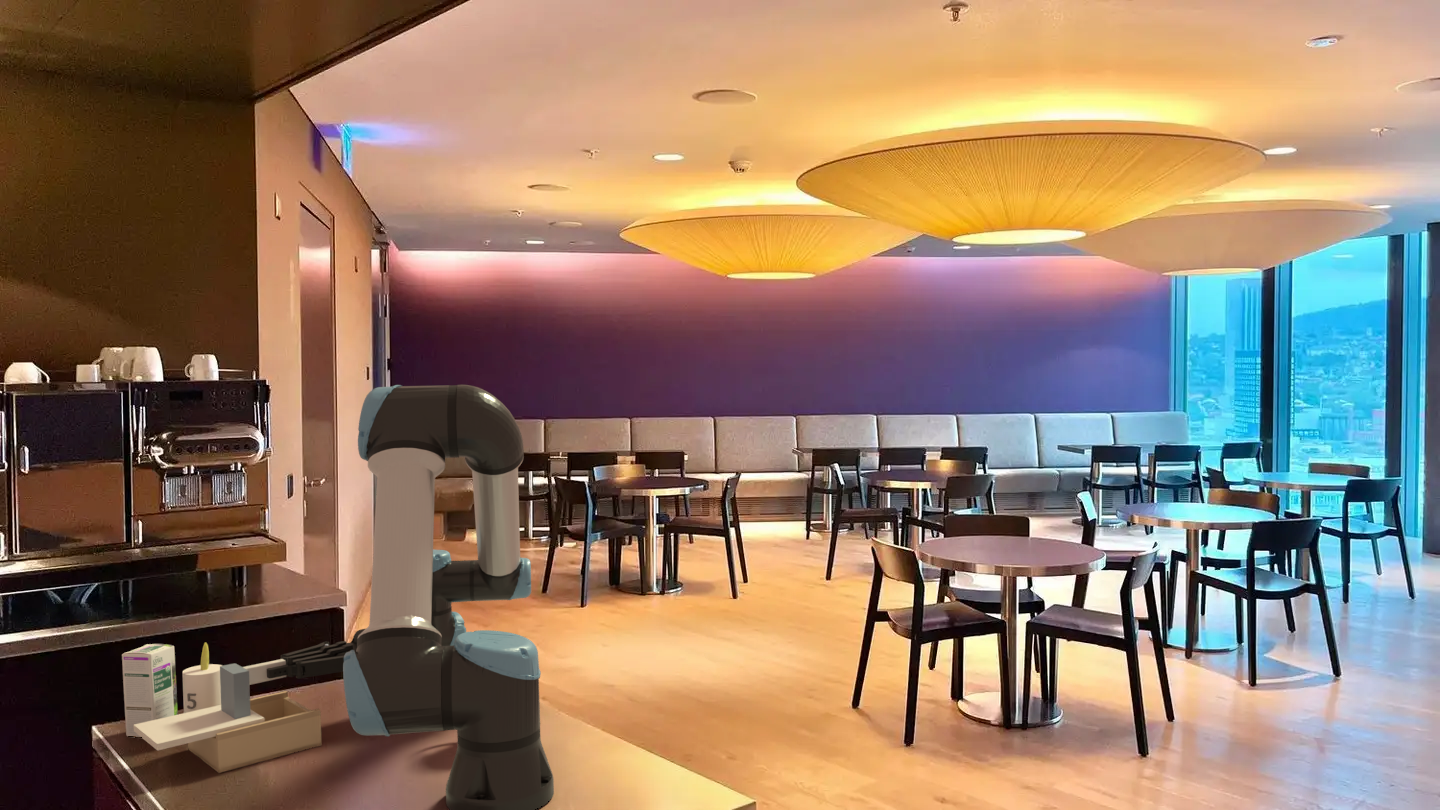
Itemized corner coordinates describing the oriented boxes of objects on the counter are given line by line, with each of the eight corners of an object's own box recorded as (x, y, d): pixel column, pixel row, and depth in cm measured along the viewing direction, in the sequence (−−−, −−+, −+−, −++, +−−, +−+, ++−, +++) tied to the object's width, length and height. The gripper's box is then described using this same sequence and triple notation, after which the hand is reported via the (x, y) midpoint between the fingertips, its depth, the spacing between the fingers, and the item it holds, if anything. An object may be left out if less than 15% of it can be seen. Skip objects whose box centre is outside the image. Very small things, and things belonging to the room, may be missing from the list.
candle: (175, 736, 177) (172, 648, 177) (200, 723, 184) (197, 637, 183) (209, 738, 176) (206, 649, 176) (233, 724, 183) (230, 639, 182)
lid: (237, 707, 175) (235, 658, 175) (264, 724, 167) (263, 673, 167) (133, 731, 165) (131, 679, 164) (157, 750, 156) (155, 696, 156)
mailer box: (286, 724, 182) (285, 690, 182) (321, 745, 172) (320, 709, 172) (188, 749, 171) (186, 713, 171) (219, 773, 161) (217, 734, 161)
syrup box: (154, 739, 176) (151, 653, 175) (124, 737, 177) (121, 651, 177) (179, 727, 182) (176, 644, 181) (149, 725, 183) (146, 642, 182)
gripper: (399, 675, 182) (260, 708, 166) (365, 660, 192) (229, 690, 175) (398, 632, 182) (258, 661, 165) (363, 619, 191) (228, 645, 175)
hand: (243, 676), depth 170 cm, fingers closed
